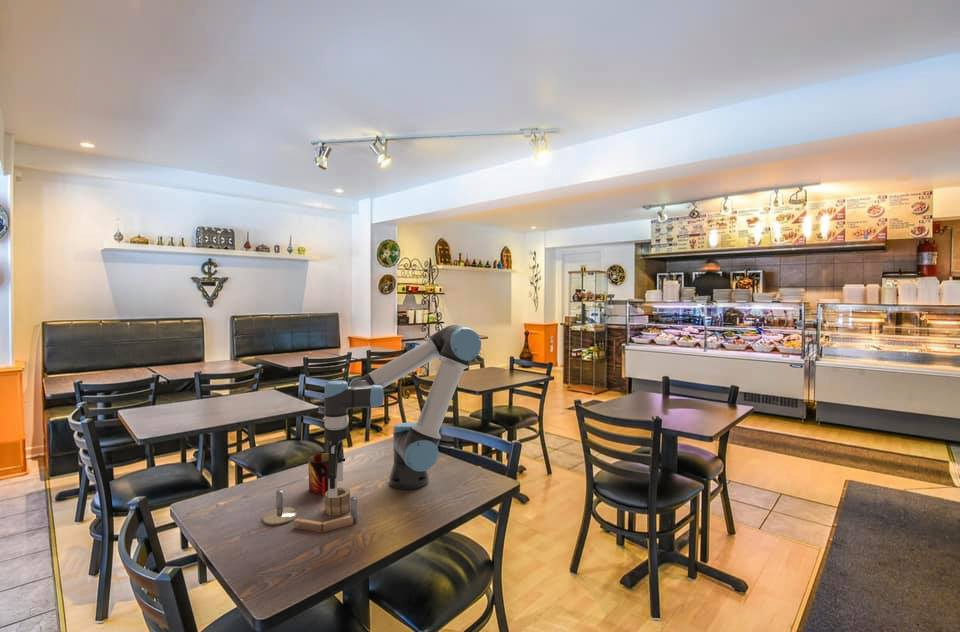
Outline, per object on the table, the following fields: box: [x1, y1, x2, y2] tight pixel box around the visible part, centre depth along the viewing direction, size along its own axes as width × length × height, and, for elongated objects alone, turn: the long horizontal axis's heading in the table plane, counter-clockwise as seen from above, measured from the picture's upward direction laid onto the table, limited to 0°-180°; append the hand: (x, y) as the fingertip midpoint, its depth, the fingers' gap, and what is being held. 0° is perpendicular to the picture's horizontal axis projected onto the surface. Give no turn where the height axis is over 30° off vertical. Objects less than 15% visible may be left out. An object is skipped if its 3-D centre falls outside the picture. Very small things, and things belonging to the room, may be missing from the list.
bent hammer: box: [293, 496, 358, 533], centre depth 149 cm, size 19×6×8 cm, turn 98°
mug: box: [308, 453, 333, 498], centre depth 176 cm, size 10×14×12 cm
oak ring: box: [324, 487, 351, 516], centre depth 161 cm, size 8×8×6 cm
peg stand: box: [262, 489, 297, 526], centre depth 155 cm, size 10×10×9 cm
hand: (335, 488), depth 160 cm, fingers open, 13 cm apart
